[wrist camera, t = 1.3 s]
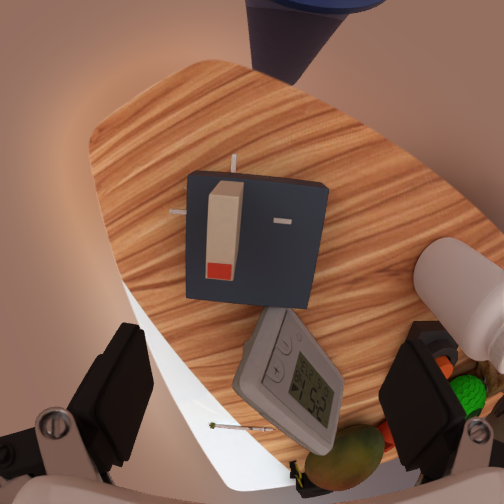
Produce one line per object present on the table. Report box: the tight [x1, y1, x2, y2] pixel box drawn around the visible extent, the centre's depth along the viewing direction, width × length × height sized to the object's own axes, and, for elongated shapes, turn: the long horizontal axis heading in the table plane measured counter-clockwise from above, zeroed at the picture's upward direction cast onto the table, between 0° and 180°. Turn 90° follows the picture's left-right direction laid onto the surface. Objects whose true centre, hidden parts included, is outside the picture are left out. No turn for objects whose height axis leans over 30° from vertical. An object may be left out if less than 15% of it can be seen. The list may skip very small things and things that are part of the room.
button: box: [435, 356, 453, 379], centre depth 28 cm, size 4×4×2 cm
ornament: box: [449, 374, 486, 421], centre depth 30 cm, size 8×8×10 cm
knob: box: [206, 181, 244, 281], centre depth 20 cm, size 6×2×6 cm, turn 175°
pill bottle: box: [413, 237, 504, 374], centre depth 21 cm, size 8×8×15 cm
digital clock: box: [232, 306, 344, 455], centre depth 27 cm, size 16×9×11 cm, turn 23°
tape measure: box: [289, 460, 333, 498], centre depth 43 cm, size 15×4×8 cm
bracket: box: [378, 420, 395, 452], centre depth 36 cm, size 12×4×5 cm
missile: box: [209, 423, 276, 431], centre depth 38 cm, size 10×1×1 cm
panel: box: [170, 154, 329, 309], centre depth 25 cm, size 13×12×3 cm
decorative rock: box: [476, 359, 504, 398], centre depth 30 cm, size 12×6×11 cm
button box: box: [406, 321, 459, 367], centre depth 30 cm, size 9×8×4 cm
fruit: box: [305, 425, 385, 491], centre depth 34 cm, size 12×13×10 cm
